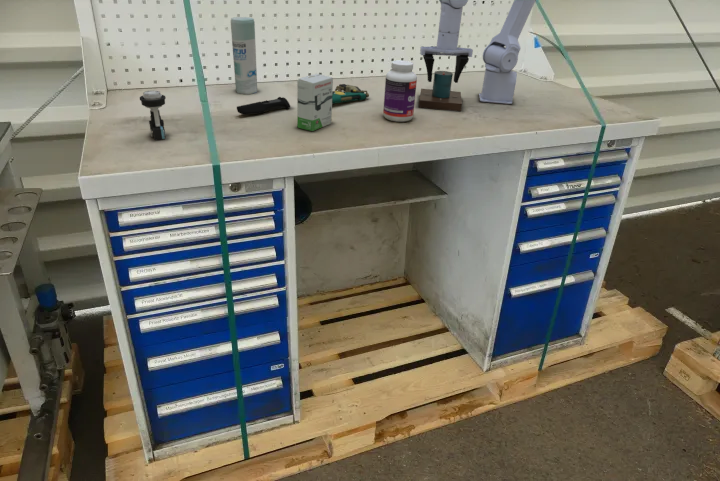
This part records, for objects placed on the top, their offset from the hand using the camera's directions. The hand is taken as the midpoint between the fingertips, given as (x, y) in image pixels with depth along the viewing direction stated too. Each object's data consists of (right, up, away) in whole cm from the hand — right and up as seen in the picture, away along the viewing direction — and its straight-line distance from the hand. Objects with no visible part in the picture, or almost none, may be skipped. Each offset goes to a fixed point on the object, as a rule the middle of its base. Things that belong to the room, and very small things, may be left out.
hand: (442, 81), depth 151 cm
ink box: (-35, -17, -19) cm, 44 cm away
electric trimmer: (-49, -12, -12) cm, 52 cm away
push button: (-70, -22, -31) cm, 80 cm away
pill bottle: (-14, -13, -11) cm, 22 cm away
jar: (0, -3, +2) cm, 4 cm away
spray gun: (-30, -5, +2) cm, 30 cm away
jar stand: (0, -5, +3) cm, 6 cm away
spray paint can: (-57, -2, +4) cm, 58 cm away
